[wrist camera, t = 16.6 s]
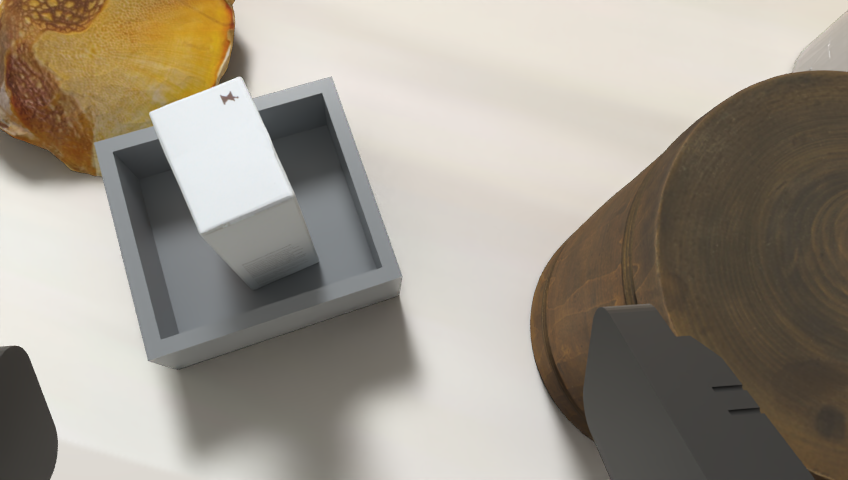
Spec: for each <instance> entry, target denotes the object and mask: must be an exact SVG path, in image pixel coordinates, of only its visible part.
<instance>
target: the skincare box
mask: <svg viewBox="0 0 848 480" xmlns="http://www.w3.org/2000/svg"><path fill="white" fill-rule="evenodd" d="M149 115H150V118H151V120H152V123H153V126H154V128H155V131H156V133H157V136H158V139H159V141H160V144H161V146H162V149H163V151H164V153H165V156H166V158H167V160H168V162H169V164H170V167H171V169H172V171H173V173H174V176H175V178H176V180H177V182H178V185H179V187H180V189H181V192H182V194H183V196H184V199H185V201H186V203H187V206H188V208H189V210H190V213H191V215H192V217H193V220H194V222H195V224H196V226H197V229H198V232H199V234H200V235H201V236H202V237H203V238H204V239H205V241H206V242H207V243H208V244H209V245H210V246H211V247H212V248H213V249H214V250H215V251H216V252H217V253H218V254H219V255H220V257H221V258H222V259H223V260H224V261H225V262H226V263H227V264H228V265H229V266H230V267H231V268H232V269H233V270H234V272H235V273H237V275H238V276H239V277H240V278H241V279H242V280H243V281H244V282H245V283H246V284H247V285H248V286H249V287H250V288H251V289H252V290H256V289H259V288H261V287H263V286H265V285H267V284H269V283H271V282H274V281H276V280H278V279H281V278H283V277H286V276H288V275H290V274H293V273H295V272H297V271H300V270H302V269H304V268H307V267H309V266H311V265H314V264H316V263H318V262H319V259H318V255H317V253H316V250H315V247H314V245H313V242H312V239H311V237H310V234H309V231H308V228H307V226H306V223H305V220H304V217H303V214H302V212H301V209H300V207H299V204H298V201H297V199H296V196H295V193H294V191H293V189H292V186H291V184H290V182H289V180H288V178H287V175H286V173H285V171H284V169H283V167H282V164H281V162H280V160H279V158H278V156H277V153H276V151H275V149H274V146H273V144H272V141H271V138H270V136H269V133H268V131H267V129H266V127H265V125H264V123H263V121H262V118H261V116H260V114H259V112H258V110H257V107H256V105H255V103H254V101H253V99H252V97H251V94H250V92H249V90H248V88H247V86H246V84H245V82H244V80H243V78H242V77H240V76H239V77H236V78H234V79H232V80H229V81H227V82H224V83H222V84H219V85H217V86H215V87H212V88H210V89H207V90H204V91H202V92H199V93H197V94H194V95H191V96H189V97H186V98H184V99H181V100H178V101H176V102H173V103H170V104H168V105H166V106H163V107H161V108H158V109H156V110H154V111H151V112H150V113H149Z"/></svg>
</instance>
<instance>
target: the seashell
mask: <svg viewBox="0 0 848 480" xmlns="http://www.w3.org/2000/svg"><path fill="white" fill-rule="evenodd" d="M234 1H235V0H1V1H0V129H2V130H3V131H4V132H6V133H7V134H9V135H10V136H12V137H13V138H16V139H19V140H22V141H25V142H27V143H30V144H33V145H35V146H38V147H41V148H43V149H46V150H49V151H50V152H51V153H52V154H54V155H55V156H56V157H57V158H58V159H59V160H61V161H62V162H63V163H64V164H65V165H66V166H67V167H68V168H69V169H70V170H71V171H76V172H80V173H87V174H90V175H93V176H101V177H102V174H101V170H100V166H99V162H98V158H97V154H96V150H95V145H94V142H98V141H101V140H105V139H109V138H112V137H116V136H119V135H123V134H127V133H130V132H134V131H137V130H141V129H145V128H148V127H152V126H153V123H152V120H151V118H150V115H149V113H150V112H151V111H154V110H156V109H158V108H161V107H163V106H166V105H168V104H170V103H173V102H176V101H178V100H181V99H184V98H186V97H189V96H191V95H194V94H197V93H199V92H202V91H204V90H207V89H210V88H212V87H215V86H217V85H219V83H220V79H221V78H222V76H223V75H224V74H225V72H226V70H227V68H228V64H229V60H230V57H231V51H232V46H233V39H234V29H235V15H234V10H233V6H232V4H233V3H234Z"/></svg>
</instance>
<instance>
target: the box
mask: <svg viewBox="0 0 848 480" xmlns="http://www.w3.org/2000/svg"><path fill="white" fill-rule="evenodd" d="M252 99H253V101H254V103H255V105H256V107H257V110H258V112H259V114H260V116H261V118H262V121H263V123H264V125H265V127H266V129H267V131H268V133H269V136H270V138H271V141H272V144H273V146H274V149H275V151H276V153H277V156H278V158H279V160H280V162H281V164H282V167H283V169H284V171H285V173H286V175H287V178H288V180H289V182H290V184H291V186H292V189H293V191H294V193H295V196H296V199H297V201H298V204H299V207H300V209H301V212H302V214H303V217H304V220H305V223H306V226H307V228H308V231H309V234H310V237H311V239H312V242H313V245H314V247H315V250H316V253H317V255H318V259H319V262H318V263H316V264H314V265H311V266H309V267H307V268H304V269H302V270H300V271H297V272H295V273H293V274H290V275H288V276H286V277H283V278H281V279H278V280H276V281H274V282H271V283H269V284H267V285H265V286H263V287H261V288H259V289H256V290H252V289H251V288H250V287H249V286H248V285H247V284H246V283H245V282H244V281H243V280H242V279H241V278H240V277H239V276H238V275H237V273H235V272H234V270H233V269H232V268H231V267H230V266H229V265H228V264H227V263H226V262H225V261H224V260H223V259H222V258H221V257H220V255H219V254H218V253H217V252H216V251H215V250H214V249H213V248H212V247H211V246H210V245H209V244H208V243H207V242H206V241H205V239H204V238H203V237H202V236H201V235H200V234H199V232H198V229H197V226H196V224H195V222H194V220H193V217H192V215H191V213H190V210H189V208H188V206H187V203H186V201H185V199H184V196H183V194H182V192H181V189H180V187H179V185H178V182H177V180H176V178H175V176H174V173H173V171H172V169H171V167H170V164H169V162H168V160H167V158H166V156H165V153H164V151H163V149H162V146H161V144H160V141H159V139H158V136H157V133H156V131H155V128H154V126H152V127H148V128H145V129H141V130H137V131H134V132H130V133H127V134H123V135H119V136H116V137H112V138H109V139H105V140H101V141H98V142H94V145H95V150H96V154H97V158H98V162H99V166H100V170H101V174H102V178H103V182H104V186H105V190H106V194H107V198H108V202H109V206H110V210H111V214H112V218H113V222H114V226H115V230H116V234H117V238H118V242H119V246H120V250H121V254H122V258H123V262H124V266H125V270H126V274H127V278H128V282H129V286H130V290H131V294H132V298H133V302H134V306H135V310H136V314H137V318H138V322H139V326H140V330H141V334H142V338H143V342H144V346H145V350H146V354H147V358H148V361H150V362H154V363H157V364H160V365H164V366H167V367H170V368H173V369H177V370H178V369H181V368H184V367H187V366H190V365H193V364H196V363H199V362H202V361H205V360H208V359H211V358H214V357H217V356H220V355H223V354H226V353H229V352H232V351H235V350H238V349H241V348H244V347H247V346H250V345H253V344H256V343H259V342H262V341H265V340H268V339H271V338H274V337H277V336H280V335H282V334H285V333H288V332H291V331H294V330H297V329H300V328H303V327H306V326H309V325H312V324H315V323H318V322H321V321H324V320H327V319H330V318H333V317H336V316H339V315H342V314H345V313H348V312H351V311H354V310H357V309H360V308H363V307H366V306H369V305H372V304H375V303H378V302H381V301H384V300H387V299H390V298H393V297H396V296H399V293H400V287H401V282H402V274H401V271H400V269H399V266H398V263H397V260H396V257H395V254H394V252H393V249H392V246H391V243H390V240H389V237H388V235H387V232H386V229H385V226H384V223H383V220H382V218H381V215H380V212H379V209H378V206H377V203H376V201H375V198H374V195H373V192H372V189H371V186H370V184H369V181H368V178H367V175H366V172H365V169H364V167H363V164H362V161H361V158H360V155H359V152H358V150H357V147H356V144H355V141H354V138H353V135H352V133H351V130H350V127H349V124H348V121H347V118H346V116H345V113H344V110H343V107H342V104H341V101H340V99H339V96H338V93H337V90H336V87H335V84H334V82H333V79H332V77H328V78H324V79H321V80H317V81H314V82H310V83H306V84H303V85H299V86H296V87H292V88H288V89H285V90H281V91H278V92H274V93H270V94H267V95H263V96H260V97H256V98H252Z"/></svg>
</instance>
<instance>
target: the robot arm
mask: <svg viewBox="0 0 848 480" xmlns="http://www.w3.org/2000/svg"><path fill="white" fill-rule="evenodd" d="M816 70H833V71H845V72H848V10H847V11H846V12H845V13H844V14H843V15H842V16H840V17H839V18H838V19H837V20H836V21H835V22H834V23H833V24H832V25H830V26H829V27H828V28H827V29H826V30H825V31H824V32H823V33H821V34H820V35H819V36H818V37H817V38H816V39H815V40H814V41H812V42H811V43H810V44H809V45H808V46H807V47H806V48H805V49H804V50H803V51H802V52H801V53H800V55H799V57H798V58H797V60H796V62H795V64H794V68H793V71H792V73H795V72H803V71H816ZM583 402H584V410H585V416H586V420H587V424H588V427H589V430H590V432H591V435H592V437H593V439H594V442H595V444H596V446H597V448H598V451H599V453H600V455H601V458H602V460H603V462H604V464H605V467H606V469H607V471H608V474H609V476H610V478H611V480H815V479H814V477H813V476H812V475H811V473H810V472H809V471H808V469H807V468H806V467H805V466H804V464H803V463H802V462H801V460H800V459H799V458H798V456H797V455H796V454H795V452H794V451H793V450H792V449H791V447H790V446H789V445H788V443H787V442H786V441H785V439H784V438H783V437H782V436H781V434H780V433H779V432H778V430H777V429H776V428H775V426H774V425H773V424H772V422H771V421H770V420H769V419H768V417H767V416H766V415H765V413H762V414H761V412H760V407H759V406H758V404H757V403H756V402H755V400H754V399H753V398H752V396H751V395H750V394H749V393H748V391H747V390H743V388H742V383H741V382H740V381H739V379H738V378H737V377H736V376H735V374H734V373H733V372H732V370H731V369H730V368H729V366H728V365H727V364H726V362H725V361H724V360H723V359H722V357H720V356H719V355H717V354H716V353H714V352H713V351H712V350H710V349H709V348H707V347H706V346H704V345H703V344H702V343H700V342H699V341H697V340H696V339H694V338H693V337H692V336H678V337H676V336H675V335H674V333H673V332H672V330H671V329H670V327H669V326H668V325H667V323H666V322H665V320H664V319H663V318H662V316H661V315H660V313H659V312H658V310H657V309H656V308H655V307H654V306H653V305H651V304H637V305H623V306H608V307H599V308H598V309H597V310H596V312H595V314H594V318H593V323H592V330H591V337H590V344H589V351H588V358H587V365H586V372H585V379H584V387H583ZM57 449H58V439H57V432H56V428H55V425H54V422H53V419H52V417H51V414H50V411H49V409H48V406H47V403H46V401H45V398H44V395H43V393H42V390H41V387H40V385H39V382H38V379H37V377H36V374H35V371H34V369H33V366H32V364H31V361H30V359H29V356H28V354H27V353H26V351H25V350H24V349H23V348H21V347H19V346H3V347H0V480H50V478H51V476H52V473H53V471H54V468H55V464H56V459H57V451H58V450H57Z"/></svg>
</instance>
